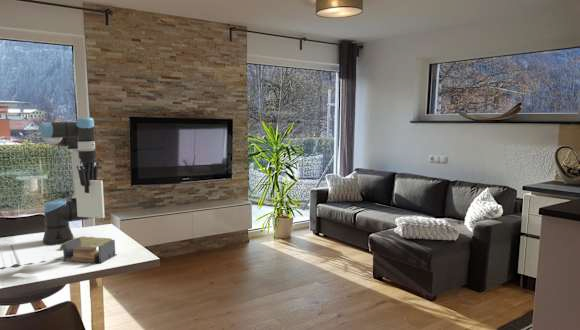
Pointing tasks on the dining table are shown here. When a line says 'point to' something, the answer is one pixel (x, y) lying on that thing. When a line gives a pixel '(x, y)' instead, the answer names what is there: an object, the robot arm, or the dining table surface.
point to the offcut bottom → (84, 259)
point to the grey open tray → (90, 241)
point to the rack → (104, 250)
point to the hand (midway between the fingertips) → (89, 198)
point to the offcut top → (84, 249)
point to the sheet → (90, 206)
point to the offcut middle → (87, 255)
